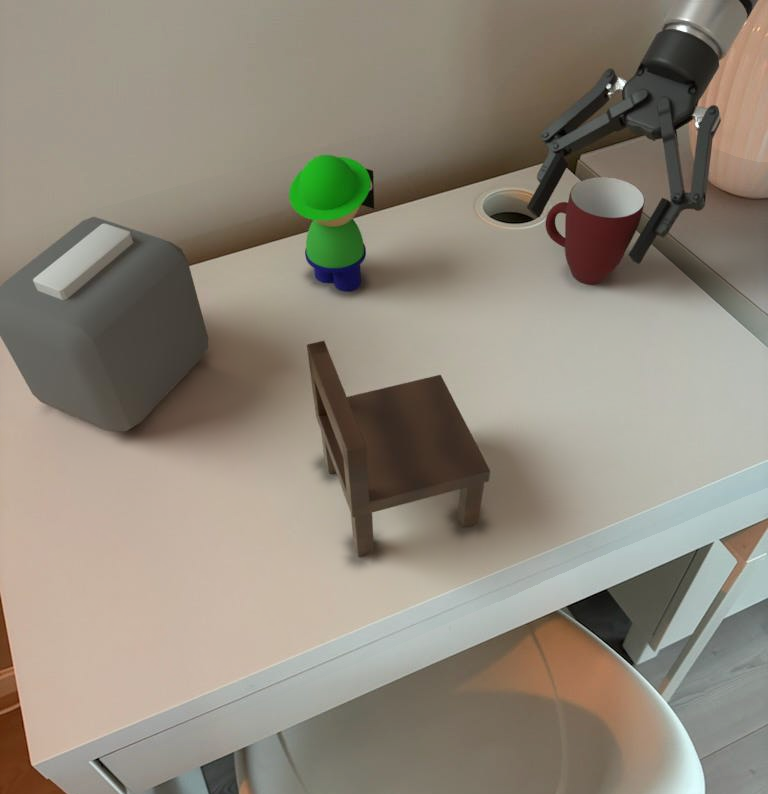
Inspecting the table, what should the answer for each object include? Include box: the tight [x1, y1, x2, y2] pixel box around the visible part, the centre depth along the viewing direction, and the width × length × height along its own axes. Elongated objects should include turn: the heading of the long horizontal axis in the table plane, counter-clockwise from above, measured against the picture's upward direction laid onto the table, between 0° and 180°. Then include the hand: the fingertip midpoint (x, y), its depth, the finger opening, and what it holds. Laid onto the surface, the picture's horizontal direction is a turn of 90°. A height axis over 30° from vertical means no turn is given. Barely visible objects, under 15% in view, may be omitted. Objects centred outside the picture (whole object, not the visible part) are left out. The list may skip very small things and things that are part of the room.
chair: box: [306, 340, 491, 558], centre depth 65 cm, size 12×12×15 cm
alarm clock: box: [0, 216, 209, 432], centre depth 74 cm, size 16×11×16 cm
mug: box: [545, 176, 646, 285], centre depth 86 cm, size 10×8×10 cm
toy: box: [288, 154, 375, 292], centre depth 84 cm, size 9×9×15 cm
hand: (581, 235), depth 85 cm, fingers open, 13 cm apart
